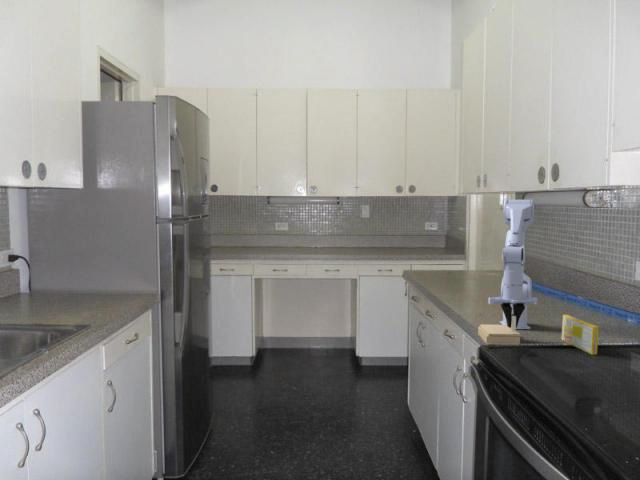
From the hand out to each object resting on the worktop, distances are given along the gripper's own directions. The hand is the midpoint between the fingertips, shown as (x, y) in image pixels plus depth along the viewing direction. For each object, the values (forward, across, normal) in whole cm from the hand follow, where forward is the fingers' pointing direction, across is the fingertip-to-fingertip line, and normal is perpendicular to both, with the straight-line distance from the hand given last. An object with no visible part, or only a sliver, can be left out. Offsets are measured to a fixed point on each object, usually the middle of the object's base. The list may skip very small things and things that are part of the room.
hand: (512, 326), depth 173 cm
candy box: (+4, +18, -7) cm, 20 cm away
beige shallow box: (+4, -4, 0) cm, 6 cm away
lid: (+1, -4, 0) cm, 4 cm away
